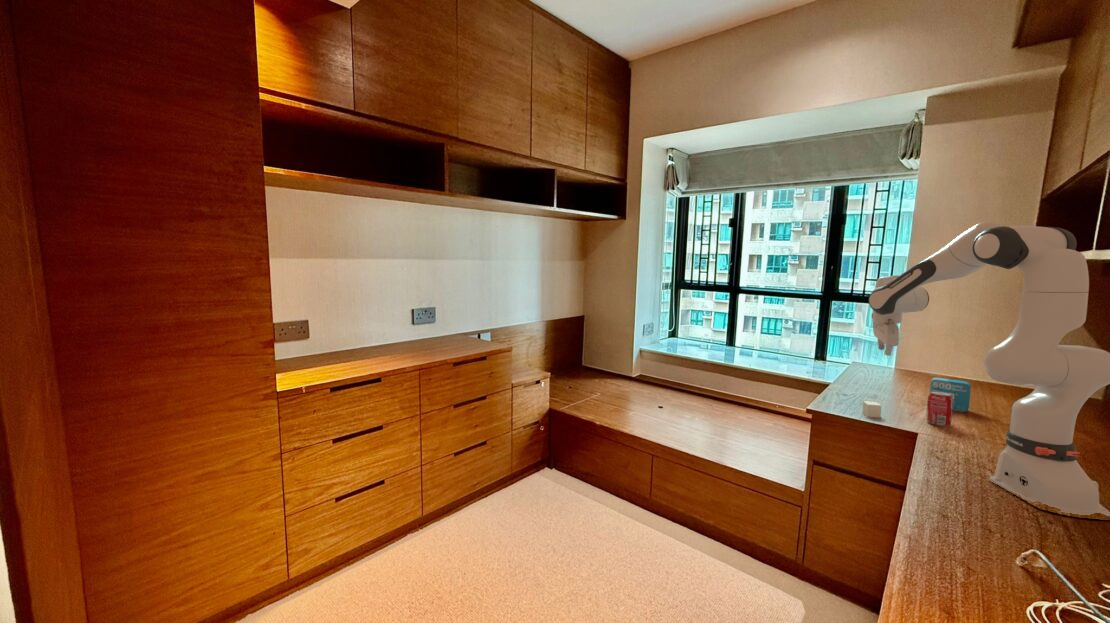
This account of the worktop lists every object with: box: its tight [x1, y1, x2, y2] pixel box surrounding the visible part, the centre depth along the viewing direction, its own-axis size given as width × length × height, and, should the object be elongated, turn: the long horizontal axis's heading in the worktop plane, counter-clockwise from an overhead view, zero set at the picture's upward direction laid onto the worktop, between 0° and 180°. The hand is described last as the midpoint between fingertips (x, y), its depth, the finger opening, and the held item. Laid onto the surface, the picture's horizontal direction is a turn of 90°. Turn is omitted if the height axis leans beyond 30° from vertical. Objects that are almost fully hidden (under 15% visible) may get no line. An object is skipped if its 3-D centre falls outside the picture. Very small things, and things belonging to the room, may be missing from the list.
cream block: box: [862, 400, 882, 418], centre depth 169 cm, size 5×5×5 cm
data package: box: [929, 377, 972, 413], centre depth 175 cm, size 12×4×12 cm, turn 43°
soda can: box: [925, 391, 953, 427], centre depth 159 cm, size 7×7×12 cm
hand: (884, 352), depth 165 cm, fingers open, 8 cm apart
